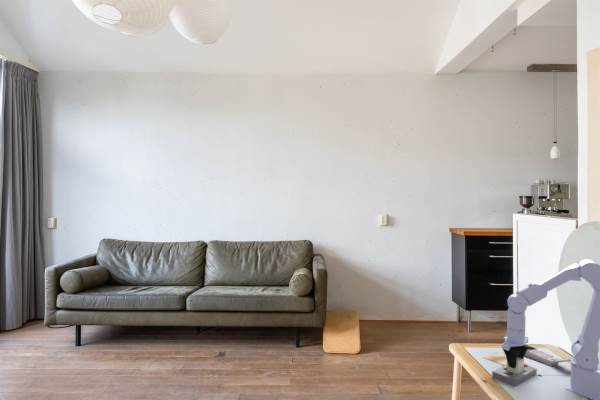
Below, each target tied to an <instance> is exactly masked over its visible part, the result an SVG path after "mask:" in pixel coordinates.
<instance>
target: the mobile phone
mask: <svg viewBox="0 0 600 400" xmlns="http://www.w3.org/2000/svg"><path fill="white" fill-rule="evenodd" d="M528 346H529V349H528V350H527V352H526V354H525V356H524V357H527V358H529V359H532V360H534V361H537V362H539V363H541V364H544V365H545V366H549V367H553V366H558V365H559V363H566V362H571V360H573V358H574V357H572V358H564V359H562V358H561V359H560V358H559V357H555V356H553V355H552V354H551V355H550V354H548V353H547V352H543V351H542V350H539V349H538V348H536V347H534V346H531V345H528Z"/></svg>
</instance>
